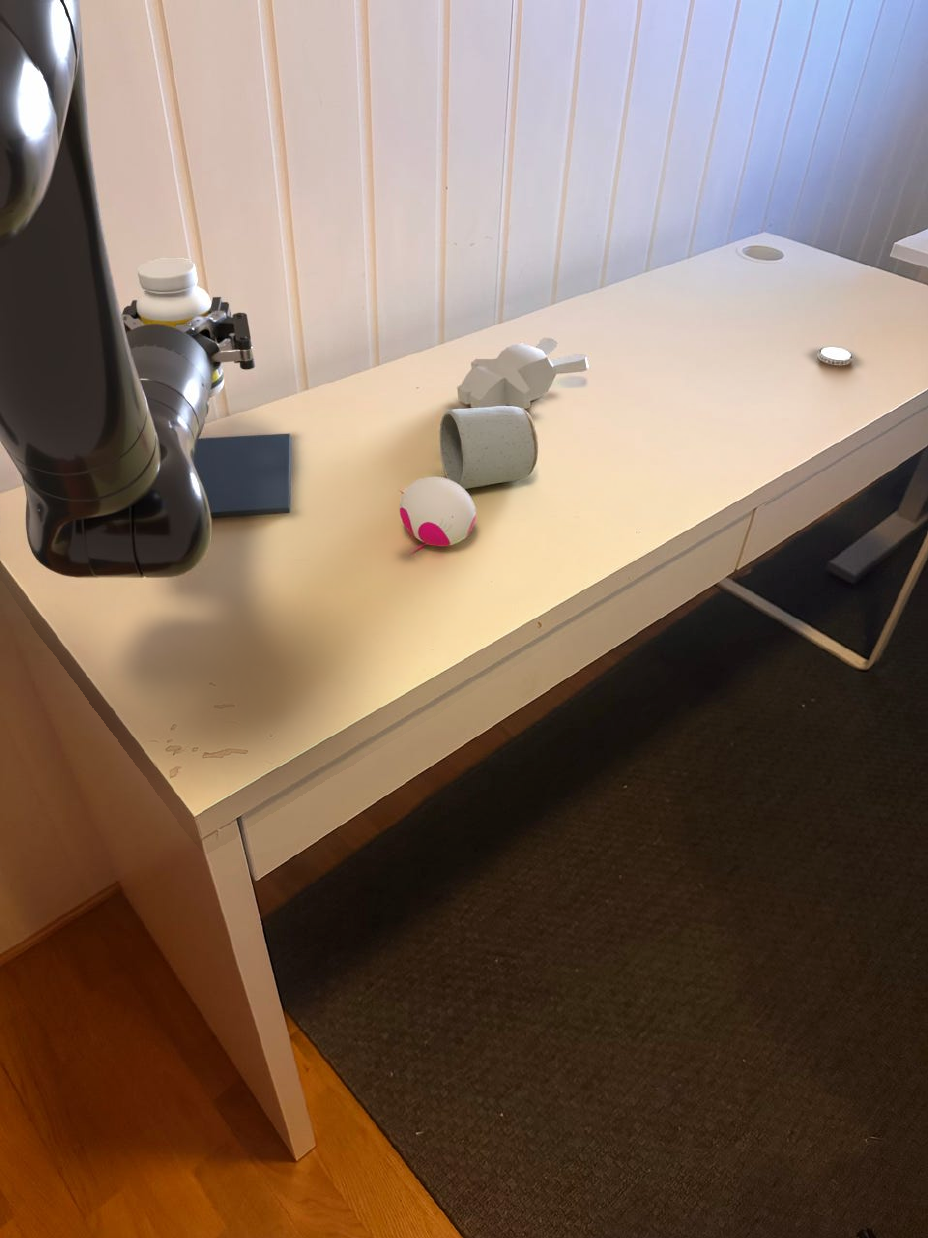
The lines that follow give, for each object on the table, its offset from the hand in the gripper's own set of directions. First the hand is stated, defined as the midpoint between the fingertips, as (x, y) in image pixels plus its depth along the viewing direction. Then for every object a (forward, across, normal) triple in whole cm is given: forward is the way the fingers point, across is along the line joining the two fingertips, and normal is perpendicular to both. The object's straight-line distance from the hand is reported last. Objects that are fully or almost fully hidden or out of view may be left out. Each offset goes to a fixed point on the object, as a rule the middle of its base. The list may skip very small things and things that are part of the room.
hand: (179, 309), depth 79 cm
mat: (-1, -1, +17) cm, 17 cm away
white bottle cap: (+18, -75, +17) cm, 79 cm away
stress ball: (-14, -21, +17) cm, 30 cm away
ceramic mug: (-3, -27, +17) cm, 32 cm away
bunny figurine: (+13, -34, +17) cm, 40 cm away
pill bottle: (-2, 0, +7) cm, 7 cm away
